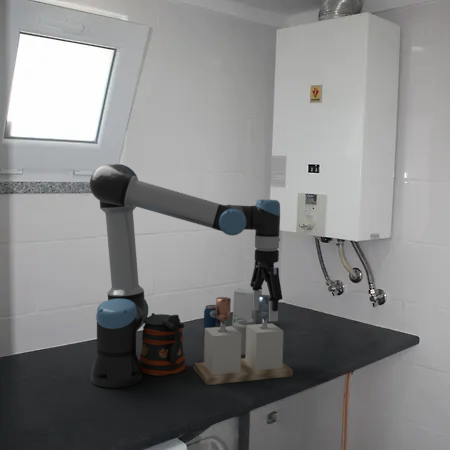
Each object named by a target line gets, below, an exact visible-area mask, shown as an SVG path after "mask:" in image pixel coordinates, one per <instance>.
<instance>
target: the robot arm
mask: <svg viewBox="0 0 450 450" xmlns="http://www.w3.org/2000/svg"><path fill="white" fill-rule="evenodd" d="M89 188H90V191H91V193H92V195H93V196H94V197H95V198H96V199H97V200H98V201H99V209H100V210H101V211H102V212H103V213H105V222H106V232H107V233H106V235H107V244H108V245H107V246H108V247H107V248H108V259H109V270H110V282H111V287H110V290H108V292H107V300H104V301H102V302H101V303H100V304H99V305H98V306H97V309H96V315H95V318H96V356H95V360H94V362H93V366H92V368H91V372H90V381H91V383H92V384H93V385H95V386H98V387H102V388H108V389H109V388H111V389H118V388H119V389H120V388H126V387H130V386H134V385H136V384H138V383H140V381H141V380H142V378H143V377H142V376H143V374H142V371H141V367H140V360H139V359H138V355H137V332H138V331H139V330H140V329H141V328H143V326H144V325H145V323H144V322H143V320H144V319H145V318H147V317H149V305H148V302H147V301H146V299H145V291H144V288H143V287H141V285H140V284H139V283H140V282H139V272H138V262H137V260H138V259H137V258H138V257H137V246H136V235H135V224H134V223H135V222H134V210H135V209H136V208H140V209H143V210H147V211H150V212H154V213H157V214H160V215H164V216H168V217H172V218H175V219H179V220H182V221H186V222H189V223H192V224H197V225H199V226H203V227H206V228H211V229H214V230H216V231H220V232H222V233H224V234H225V235H227V236H237V235H239V234H241V233H242V232H244V230H252V231H253V230H255V234H254V247H255V248H256V249H255V250H254V268H253V273H252V277H251V281H250V284H249V285H250V287H251V288H252V289H251V290H254V291H253V311H256V312H257V311H258V299H259V295H263V294H262V293H263V291H262V290H263V283H264V281H265V282H266V285H267V290H268V293H269V294H268V295H270V299H269V317H268V322H279V303H280V302H279V301H281V300H283V293H282V287H281V279H280V269H279V267H275V265H274V264H275V263H278V262H279V259H280V257H279V256H280V251H279V248H280V241H281V238H280V229H281V227H280V226H281V224H280V223H281V203H280V202H279V201H278V200H276V199H257V200H256V203H255V205H235V204H220V203H218V202H213V201H210V200H207V199H203V198H201V197H200V198H199V197H197V196H193V195H189V194H186V193H183V192H179V191H176V190H172V189H170V188H166V187H161V186H159V185H155V184H151V183H148V182H146V181H145V182H144V181H141V180H139V178H138V175H137V174H136V172H135V171H134V170H133V169H132V168H131V167H128V166H127V165H125V164H118V163H116V164H104V165H101V166H99V167H98V168H96V169H95V170H94V171H93V172H92V174H91V175H90V180H89Z"/></svg>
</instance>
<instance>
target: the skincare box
mask: <svg viewBox="0 0 450 450" xmlns="http://www.w3.org/2000/svg"><path fill="white" fill-rule="evenodd" d="M253 291H254V290H253V289H249V288H239V287H238V288H236V289H235V290H234V291H233V305H232V306H233V308H232V323H231V324H232V325H231V326H232V327H233V328H234V323H235V322H236V319H238V318H250V319H253V322H254V324H256V315H257V310H256V311H253Z"/></svg>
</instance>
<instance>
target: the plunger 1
mask: <svg viewBox="0 0 450 450" xmlns="http://www.w3.org/2000/svg"><path fill="white" fill-rule="evenodd" d="M231 300H232V299H231V297H227V296H226V297H225V296H219V297H216V300H215V301H216V303H215V305H216V318H217V319H220V333H223V332H225V327H227V326H226V321H227V320H230V319H231V303H232V301H231Z"/></svg>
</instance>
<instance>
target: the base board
mask: <svg viewBox="0 0 450 450" xmlns="http://www.w3.org/2000/svg"><path fill="white" fill-rule="evenodd" d="M193 366H194V367H193V369H194V371H195V372H196V373H197V374H198V376H199V377H200V378H201V380H202V381H203V382H204V384H205V385H206V386H210V385H211V386H212V385H222V384H229V383H238V382H239V383H240V382H249V381H259V380H267V379H269V380H270V379H278V378H279V379H280V378H287V377H293V374H294V373H293V372H294V370H293V369H292V367H290V366H289V365H287V364H286V363H284V362H283V361H282V368H277V369H267V370H257V371H256V370H254V369H253V368H252V367H251V366H250V365H249V364H248V363H247V362H246V361H245V358H241V372H236V373H226V374H216V375H212V374H211V372H210V371H209V370H208V369H207V368H206V367H205V366H204V361H202V362H194V364H193Z"/></svg>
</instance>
